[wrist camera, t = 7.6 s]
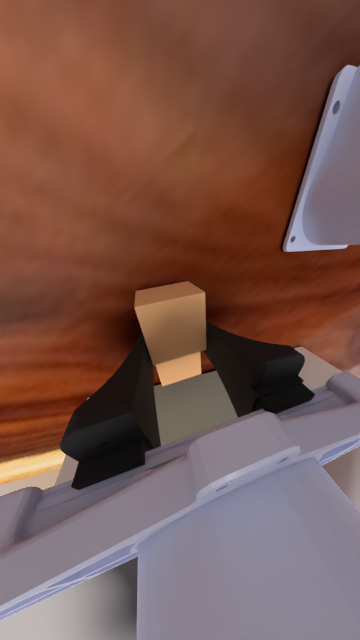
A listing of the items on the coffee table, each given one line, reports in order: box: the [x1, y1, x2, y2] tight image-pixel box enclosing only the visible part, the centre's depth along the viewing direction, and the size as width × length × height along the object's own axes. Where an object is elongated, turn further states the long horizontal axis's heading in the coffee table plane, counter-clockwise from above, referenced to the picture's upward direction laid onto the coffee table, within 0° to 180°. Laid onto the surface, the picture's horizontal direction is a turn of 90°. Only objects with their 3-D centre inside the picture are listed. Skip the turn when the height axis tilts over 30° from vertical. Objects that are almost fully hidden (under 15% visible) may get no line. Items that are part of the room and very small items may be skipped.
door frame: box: [55, 347, 343, 486], centre depth 16 cm, size 2×32×7 cm, turn 92°
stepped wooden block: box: [134, 281, 206, 387], centre depth 12 cm, size 10×4×4 cm, turn 7°
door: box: [154, 371, 238, 446], centre depth 16 cm, size 2×20×6 cm, turn 92°
